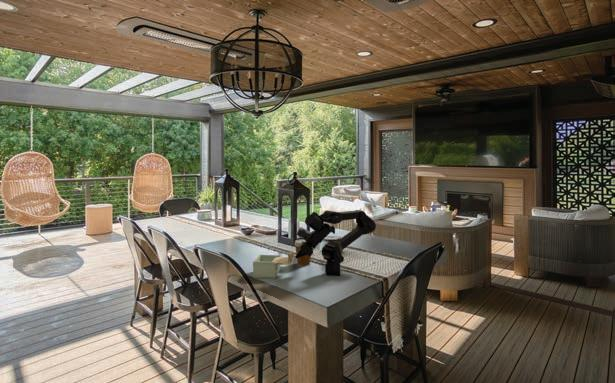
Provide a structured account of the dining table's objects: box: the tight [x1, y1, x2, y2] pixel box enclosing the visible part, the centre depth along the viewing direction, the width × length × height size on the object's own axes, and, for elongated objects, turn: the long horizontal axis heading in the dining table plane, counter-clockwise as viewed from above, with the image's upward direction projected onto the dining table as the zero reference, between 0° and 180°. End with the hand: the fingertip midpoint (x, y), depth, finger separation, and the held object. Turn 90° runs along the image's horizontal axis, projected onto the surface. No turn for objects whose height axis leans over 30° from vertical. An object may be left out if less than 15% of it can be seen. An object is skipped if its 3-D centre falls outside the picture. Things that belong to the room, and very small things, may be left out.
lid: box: [272, 250, 295, 266], centre depth 174 cm, size 9×10×4 cm
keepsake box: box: [252, 254, 281, 280], centre depth 176 cm, size 10×12×8 cm
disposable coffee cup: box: [294, 238, 312, 267], centre depth 191 cm, size 10×10×12 cm
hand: (295, 257), depth 173 cm, fingers closed
